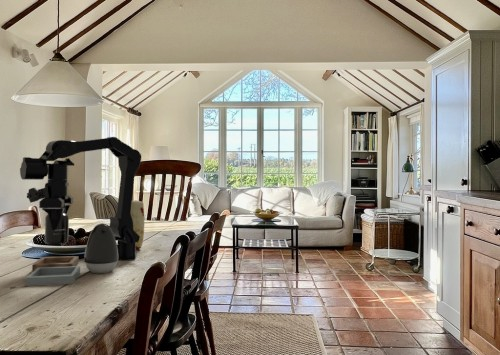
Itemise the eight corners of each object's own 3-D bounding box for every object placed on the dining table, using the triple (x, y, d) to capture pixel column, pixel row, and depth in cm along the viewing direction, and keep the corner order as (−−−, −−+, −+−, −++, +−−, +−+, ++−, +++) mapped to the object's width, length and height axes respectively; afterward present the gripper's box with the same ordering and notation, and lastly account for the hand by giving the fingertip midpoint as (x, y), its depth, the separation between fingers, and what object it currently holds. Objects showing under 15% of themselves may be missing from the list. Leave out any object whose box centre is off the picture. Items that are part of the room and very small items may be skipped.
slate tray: (80, 273, 126) (80, 266, 126) (73, 283, 115) (73, 275, 115) (37, 274, 124) (37, 267, 124) (25, 285, 112) (25, 277, 112)
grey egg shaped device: (85, 277, 122) (86, 226, 122) (82, 269, 131) (83, 222, 131) (121, 273, 127) (122, 224, 127) (115, 266, 136) (116, 220, 136)
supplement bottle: (59, 245, 128) (59, 206, 128) (40, 244, 129) (40, 206, 129) (73, 241, 134) (73, 205, 134) (54, 240, 136) (54, 204, 136)
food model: (117, 251, 162) (118, 200, 162) (119, 248, 168) (120, 199, 168) (143, 250, 164) (144, 200, 163) (144, 247, 170) (145, 199, 170)
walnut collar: (78, 263, 140) (78, 256, 140) (72, 271, 128) (72, 263, 128) (41, 264, 137) (42, 257, 137) (32, 272, 126) (32, 264, 126)
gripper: (38, 178, 139) (37, 224, 139) (20, 179, 121) (20, 232, 121) (73, 179, 141) (72, 224, 142) (61, 180, 123) (60, 232, 123)
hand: (56, 228), depth 132 cm, fingers closed on supplement bottle, 7 cm apart
